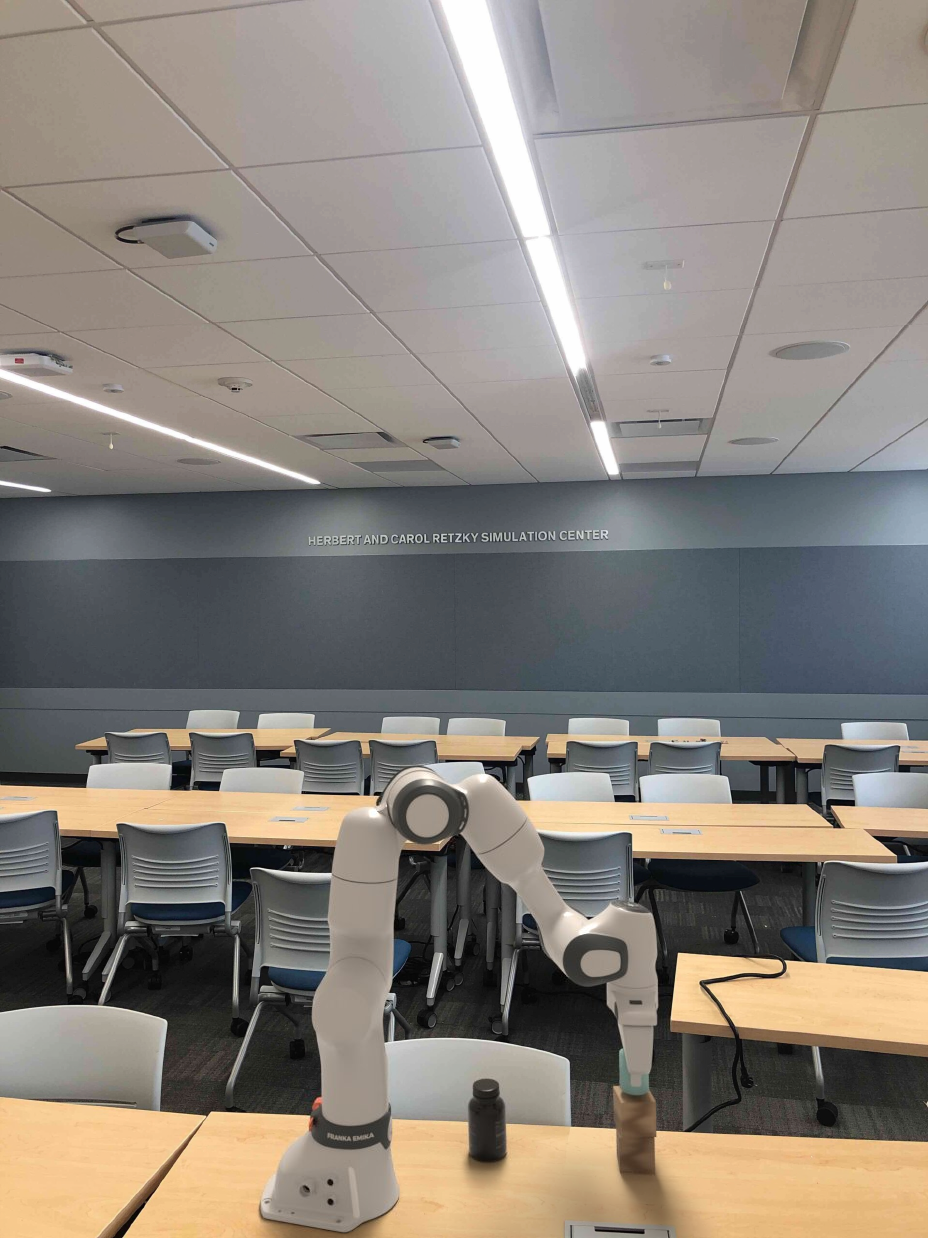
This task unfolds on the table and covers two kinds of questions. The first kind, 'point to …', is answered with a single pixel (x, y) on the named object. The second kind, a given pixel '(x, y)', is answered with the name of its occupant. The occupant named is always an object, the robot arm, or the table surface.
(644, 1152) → the tower base
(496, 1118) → the supplement bottle
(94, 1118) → the table surface
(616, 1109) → the tower top
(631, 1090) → the teal rounded cylinder
